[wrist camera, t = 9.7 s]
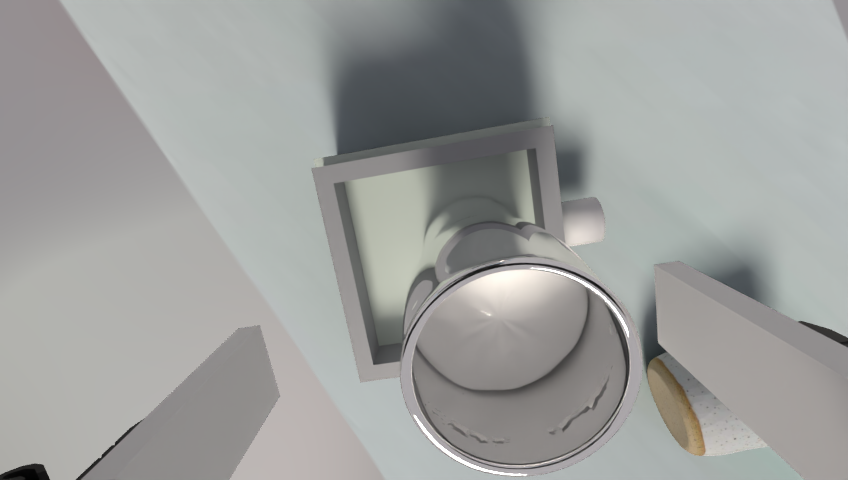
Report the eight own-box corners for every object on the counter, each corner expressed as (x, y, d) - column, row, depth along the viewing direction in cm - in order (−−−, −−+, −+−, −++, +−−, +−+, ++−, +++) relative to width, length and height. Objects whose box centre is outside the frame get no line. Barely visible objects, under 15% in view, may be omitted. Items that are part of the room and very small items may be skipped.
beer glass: (395, 230, 26) (340, 340, 11) (491, 166, 25) (570, 196, 10) (456, 318, 27) (479, 522, 12) (551, 261, 26) (697, 410, 11)
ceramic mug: (630, 341, 33) (686, 400, 26) (735, 309, 33) (824, 360, 25) (661, 449, 36) (721, 532, 28) (760, 421, 35) (848, 499, 27)
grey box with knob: (337, 156, 31) (300, 160, 23) (569, 114, 30) (620, 102, 22) (374, 330, 34) (354, 390, 26) (587, 299, 33) (638, 350, 24)
